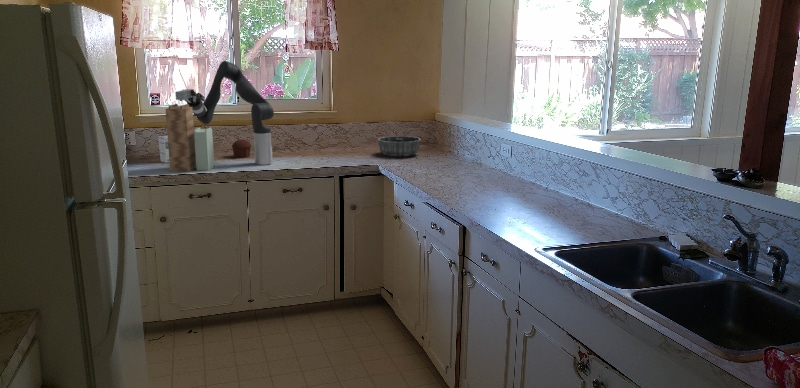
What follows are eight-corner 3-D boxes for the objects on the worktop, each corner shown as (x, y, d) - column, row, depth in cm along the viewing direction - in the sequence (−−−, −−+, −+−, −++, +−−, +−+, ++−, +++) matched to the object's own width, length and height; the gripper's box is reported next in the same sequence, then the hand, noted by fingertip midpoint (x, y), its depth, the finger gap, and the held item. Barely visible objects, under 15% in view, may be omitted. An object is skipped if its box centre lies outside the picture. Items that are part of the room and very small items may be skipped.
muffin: (247, 158, 350) (246, 141, 348) (229, 158, 352) (228, 140, 349) (255, 155, 361) (254, 138, 359) (237, 154, 363) (236, 138, 361)
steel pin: (194, 96, 331) (193, 89, 331) (183, 99, 312) (183, 92, 311) (186, 96, 331) (186, 89, 330) (175, 99, 312) (175, 92, 311)
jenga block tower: (196, 166, 324) (192, 103, 317) (190, 171, 313) (185, 106, 305) (177, 166, 324) (172, 103, 316) (170, 171, 312) (165, 105, 304)
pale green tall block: (214, 166, 327) (212, 127, 322) (209, 170, 315) (206, 129, 310) (202, 166, 326) (200, 126, 321) (196, 170, 315) (193, 129, 310)
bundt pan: (370, 156, 362) (370, 140, 360) (387, 150, 386) (387, 134, 384) (411, 160, 353) (411, 143, 350) (426, 153, 376) (427, 137, 374)
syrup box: (166, 162, 335) (164, 136, 331) (160, 161, 338) (158, 135, 335) (175, 161, 339) (173, 135, 336) (169, 160, 343) (167, 134, 339)
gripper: (183, 98, 342) (174, 84, 326) (209, 98, 343) (201, 84, 327) (182, 110, 340) (173, 97, 324) (208, 110, 341) (200, 97, 325)
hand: (187, 91), depth 325 cm, fingers closed on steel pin, 4 cm apart
